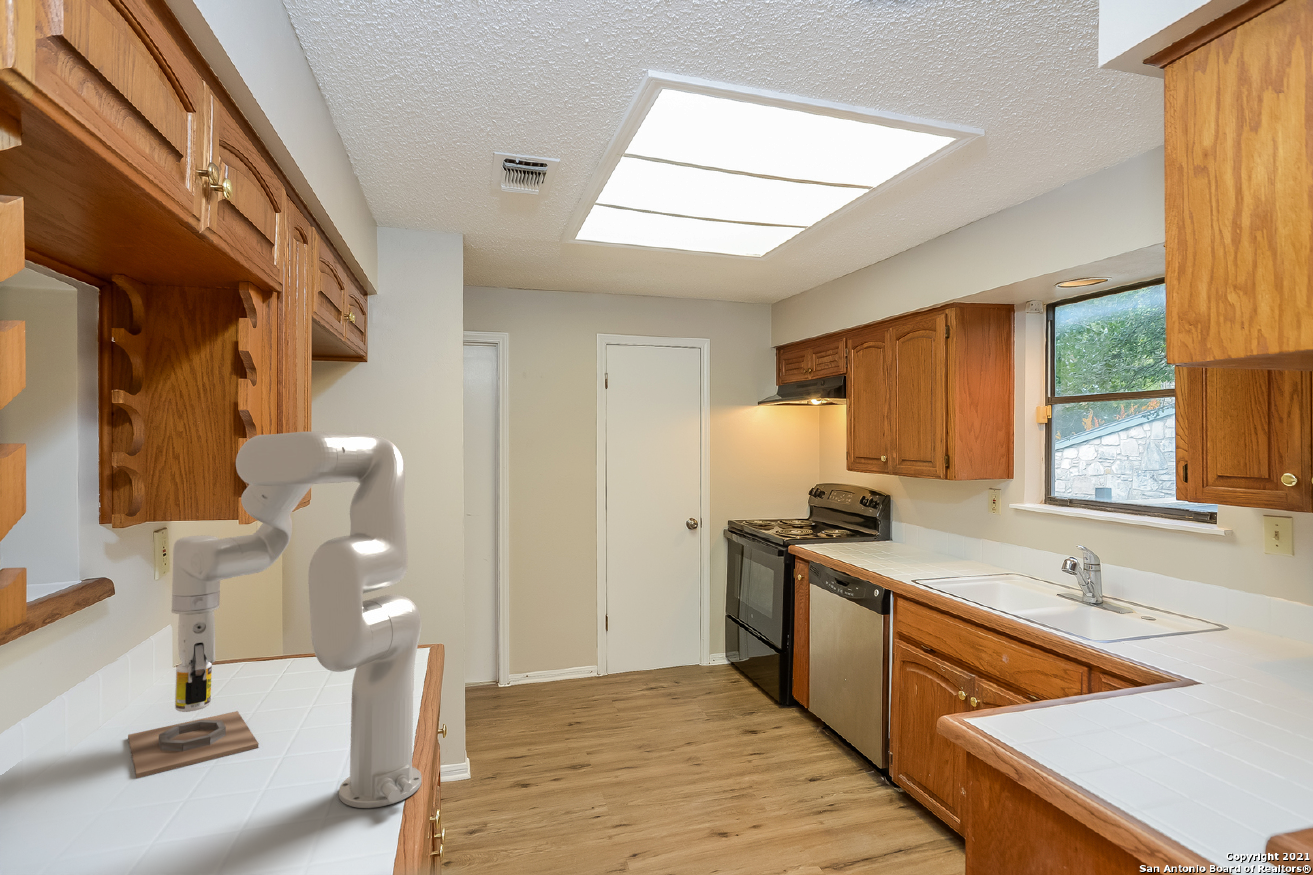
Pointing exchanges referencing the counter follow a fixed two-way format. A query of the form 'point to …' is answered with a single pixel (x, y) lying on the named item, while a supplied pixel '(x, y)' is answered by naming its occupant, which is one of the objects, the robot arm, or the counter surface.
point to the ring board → (189, 743)
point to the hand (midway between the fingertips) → (193, 696)
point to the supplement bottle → (181, 688)
